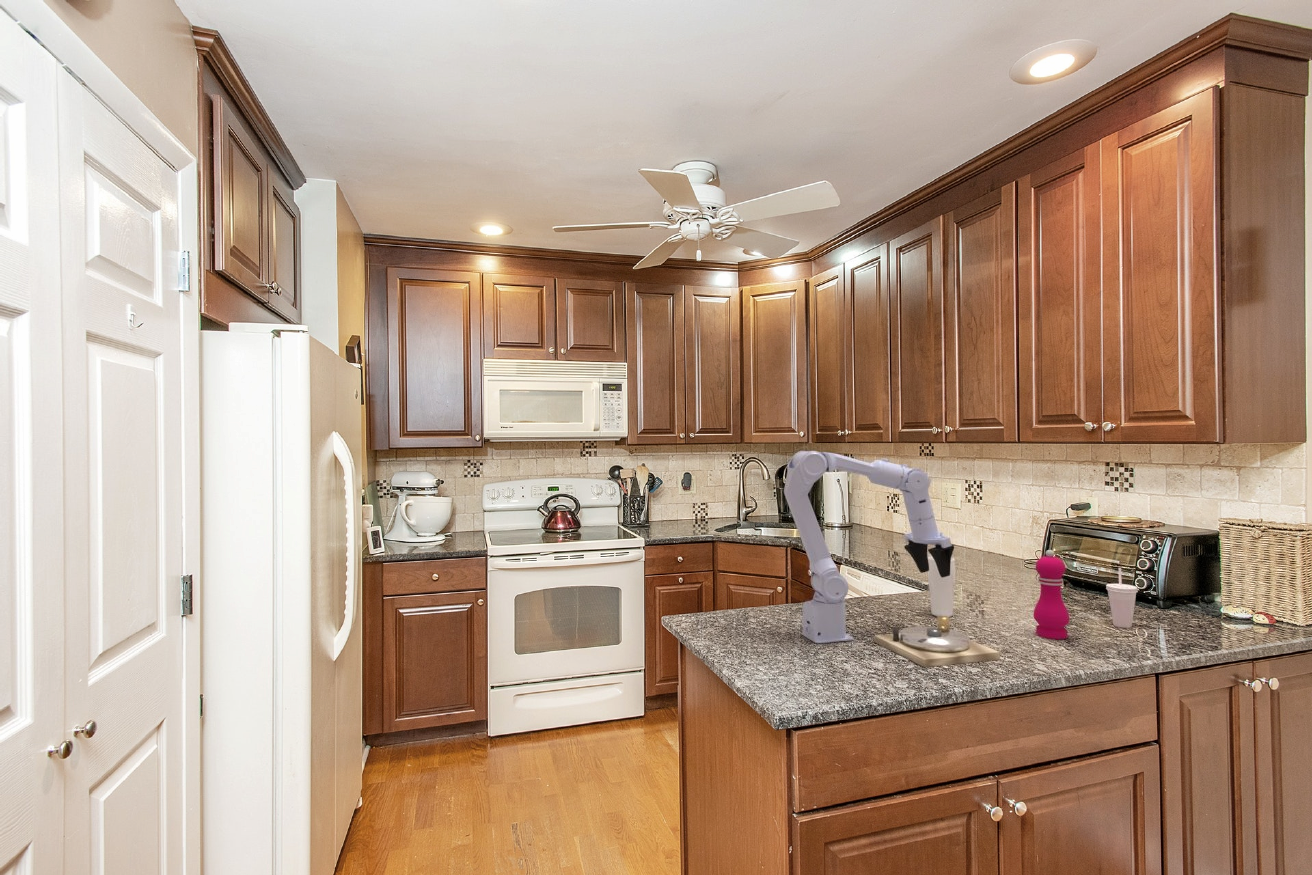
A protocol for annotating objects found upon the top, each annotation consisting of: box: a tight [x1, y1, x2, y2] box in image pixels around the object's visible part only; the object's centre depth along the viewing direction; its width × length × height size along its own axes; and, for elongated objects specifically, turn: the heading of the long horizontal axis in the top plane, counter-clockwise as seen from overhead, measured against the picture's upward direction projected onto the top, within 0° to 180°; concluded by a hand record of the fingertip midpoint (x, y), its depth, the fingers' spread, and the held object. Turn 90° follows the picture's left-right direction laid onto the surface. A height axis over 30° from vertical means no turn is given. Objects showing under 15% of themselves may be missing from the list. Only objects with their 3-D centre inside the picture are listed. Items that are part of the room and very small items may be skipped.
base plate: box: [874, 626, 1001, 668], centre depth 145 cm, size 18×18×4 cm
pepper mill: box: [1033, 549, 1070, 640], centre depth 155 cm, size 7×7×20 cm
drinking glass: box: [926, 555, 956, 618], centre depth 174 cm, size 7×7×15 cm
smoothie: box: [1105, 567, 1139, 629], centre depth 162 cm, size 6×6×14 cm
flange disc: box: [899, 616, 971, 652], centre depth 145 cm, size 14×14×4 cm
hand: (935, 573), depth 156 cm, fingers open, 7 cm apart
